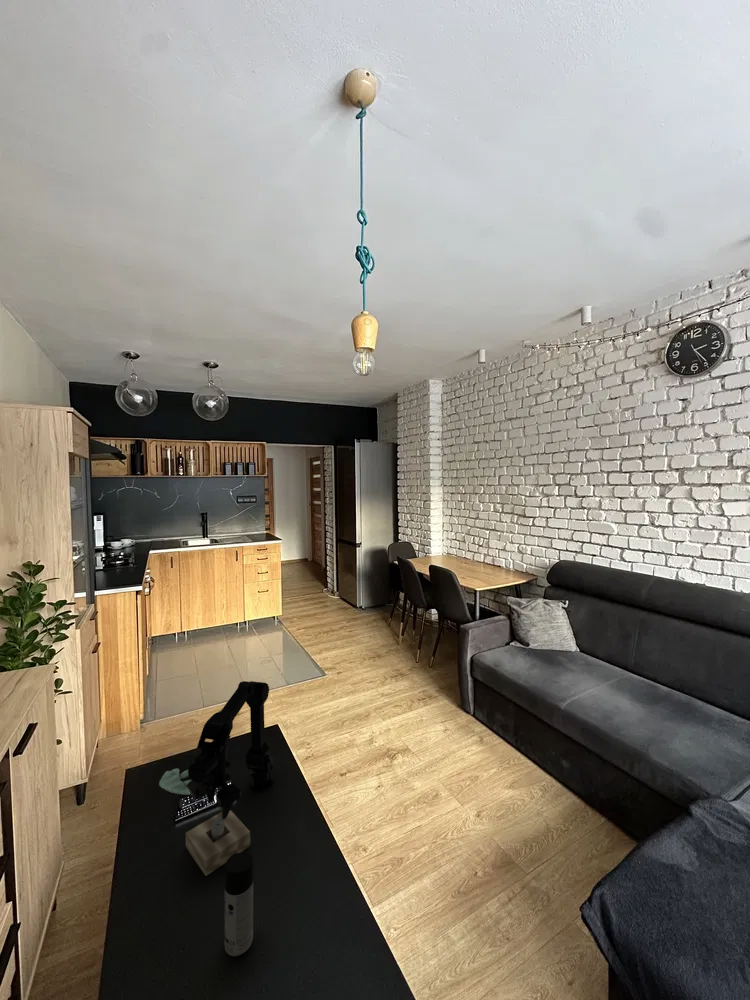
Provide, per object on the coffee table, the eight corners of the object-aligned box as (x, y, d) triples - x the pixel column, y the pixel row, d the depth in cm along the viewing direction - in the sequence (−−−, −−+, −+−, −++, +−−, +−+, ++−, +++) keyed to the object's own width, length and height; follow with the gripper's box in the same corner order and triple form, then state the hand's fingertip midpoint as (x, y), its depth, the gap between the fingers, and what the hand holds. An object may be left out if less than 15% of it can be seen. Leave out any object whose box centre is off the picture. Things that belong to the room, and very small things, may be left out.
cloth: (158, 772, 163) (158, 766, 163) (218, 757, 173) (218, 752, 172) (155, 808, 145) (155, 801, 145) (222, 790, 154) (222, 783, 154)
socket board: (228, 821, 139) (228, 807, 139) (250, 845, 129) (250, 831, 129) (185, 847, 129) (185, 832, 129) (205, 876, 119) (205, 860, 119)
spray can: (228, 929, 105) (228, 851, 104) (256, 926, 105) (255, 849, 105) (221, 958, 98) (220, 875, 98) (250, 956, 99) (250, 873, 98)
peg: (220, 839, 131) (220, 814, 131) (226, 846, 129) (226, 821, 129) (210, 846, 129) (209, 821, 129) (215, 853, 126) (215, 827, 126)
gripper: (178, 759, 129) (178, 808, 129) (204, 788, 116) (205, 844, 116) (213, 743, 137) (213, 790, 137) (241, 769, 124) (241, 821, 124)
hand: (217, 810), depth 128 cm, fingers open, 9 cm apart
